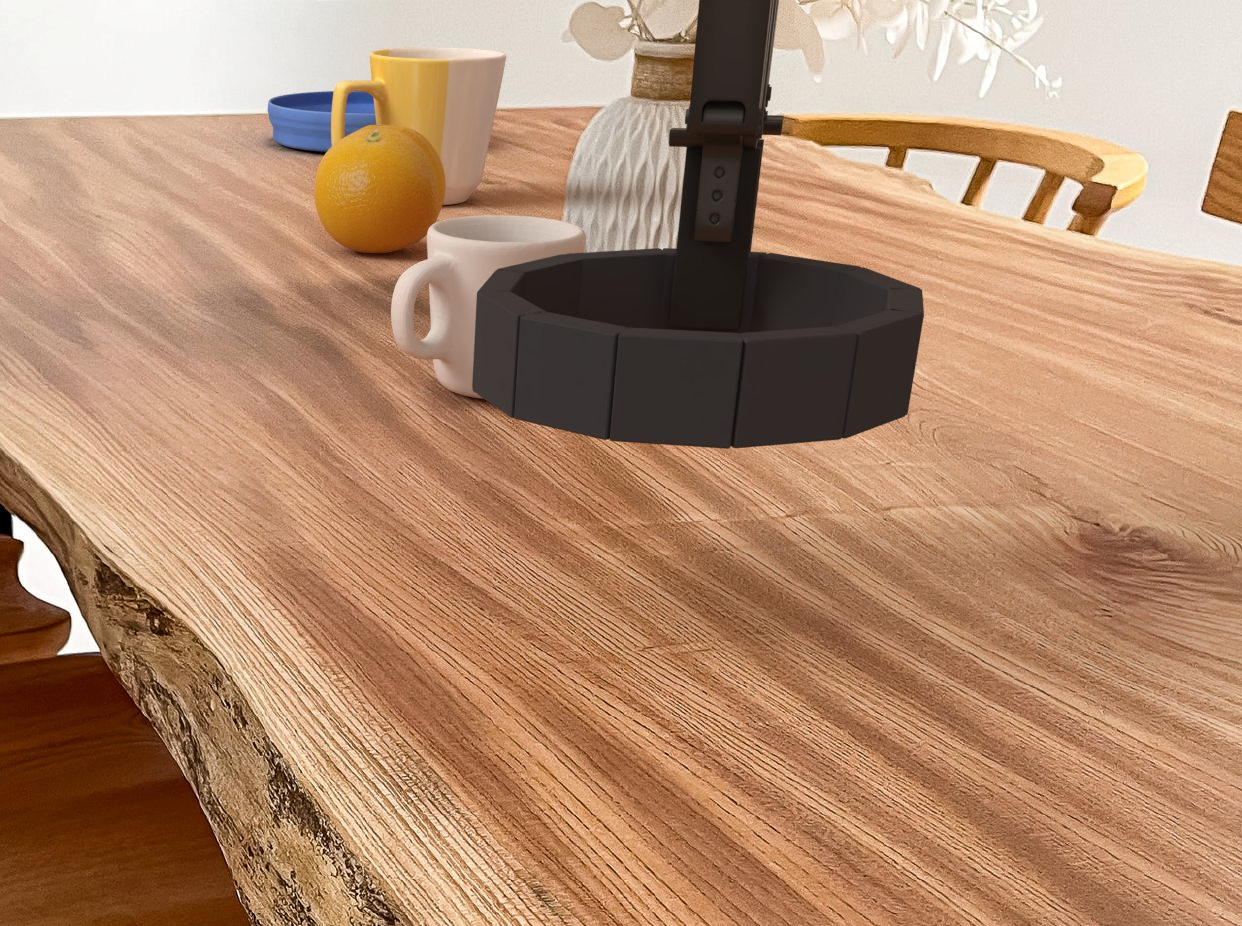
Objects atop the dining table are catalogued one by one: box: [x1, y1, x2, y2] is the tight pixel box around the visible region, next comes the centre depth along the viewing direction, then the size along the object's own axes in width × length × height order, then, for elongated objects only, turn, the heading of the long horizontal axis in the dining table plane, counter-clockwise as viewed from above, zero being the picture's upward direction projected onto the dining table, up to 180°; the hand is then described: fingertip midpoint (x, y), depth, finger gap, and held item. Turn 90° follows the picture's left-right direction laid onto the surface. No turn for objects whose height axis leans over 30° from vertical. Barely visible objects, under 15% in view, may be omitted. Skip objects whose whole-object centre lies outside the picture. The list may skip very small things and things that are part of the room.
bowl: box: [267, 90, 377, 153], centre depth 177 cm, size 18×18×4 cm
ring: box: [472, 247, 925, 450], centre depth 70 cm, size 15×15×4 cm
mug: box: [331, 46, 507, 206], centre depth 149 cm, size 14×10×10 cm
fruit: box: [314, 125, 446, 254], centre depth 132 cm, size 9×8×8 cm
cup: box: [390, 214, 587, 400], centre depth 99 cm, size 11×8×8 cm
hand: (706, 320), depth 77 cm, fingers closed on ring, 1 cm apart
